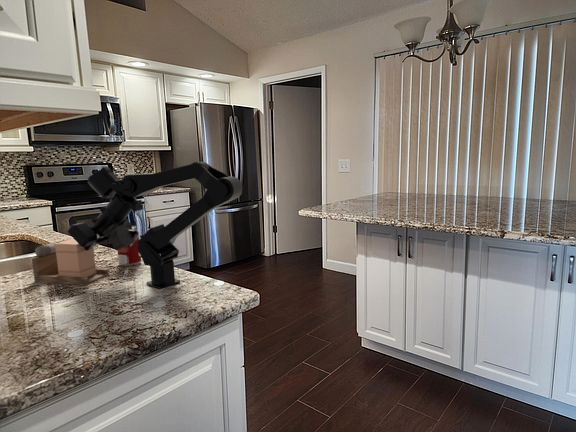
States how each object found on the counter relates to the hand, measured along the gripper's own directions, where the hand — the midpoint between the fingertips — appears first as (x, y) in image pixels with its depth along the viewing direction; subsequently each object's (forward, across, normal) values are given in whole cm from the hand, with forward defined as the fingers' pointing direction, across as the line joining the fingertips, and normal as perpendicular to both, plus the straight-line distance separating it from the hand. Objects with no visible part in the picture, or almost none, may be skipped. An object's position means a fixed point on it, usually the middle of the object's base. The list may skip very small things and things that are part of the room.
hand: (86, 249), depth 105 cm
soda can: (+5, +16, -8) cm, 18 cm away
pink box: (+8, 0, -3) cm, 9 cm away
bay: (+10, 0, -2) cm, 10 cm away
